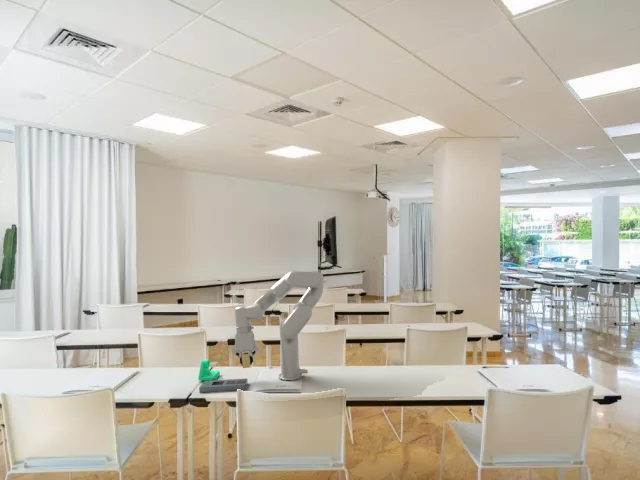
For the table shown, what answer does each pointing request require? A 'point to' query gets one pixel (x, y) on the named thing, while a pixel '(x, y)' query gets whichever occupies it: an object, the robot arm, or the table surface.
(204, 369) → the camera mount
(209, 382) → the grey compartment tray
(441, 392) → the table surface
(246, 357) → the nut block
